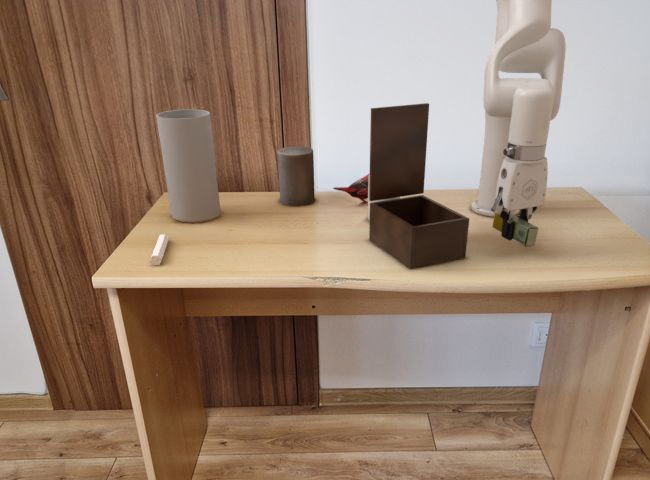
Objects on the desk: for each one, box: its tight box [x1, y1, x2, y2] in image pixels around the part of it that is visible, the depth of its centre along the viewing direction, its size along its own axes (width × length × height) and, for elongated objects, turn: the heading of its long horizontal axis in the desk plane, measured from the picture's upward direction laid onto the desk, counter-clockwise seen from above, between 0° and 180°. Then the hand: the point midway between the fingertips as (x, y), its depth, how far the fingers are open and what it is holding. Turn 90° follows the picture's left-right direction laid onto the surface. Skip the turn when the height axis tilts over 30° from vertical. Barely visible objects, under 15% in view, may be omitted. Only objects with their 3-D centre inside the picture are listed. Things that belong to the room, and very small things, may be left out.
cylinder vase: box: [155, 109, 221, 224], centre depth 154 cm, size 12×12×25 cm
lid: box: [369, 102, 430, 201], centre depth 138 cm, size 20×14×6 cm
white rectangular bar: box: [149, 233, 169, 266], centre depth 139 cm, size 3×2×16 cm
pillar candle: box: [276, 145, 316, 207], centre depth 167 cm, size 10×10×15 cm
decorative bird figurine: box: [332, 172, 370, 206], centre depth 164 cm, size 3×18×10 cm, turn 124°
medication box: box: [491, 212, 539, 248], centre depth 134 cm, size 12×3×4 cm, turn 25°
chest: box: [368, 194, 470, 270], centre depth 137 cm, size 19×14×9 cm
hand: (513, 236), depth 135 cm, fingers closed on medication box, 2 cm apart
